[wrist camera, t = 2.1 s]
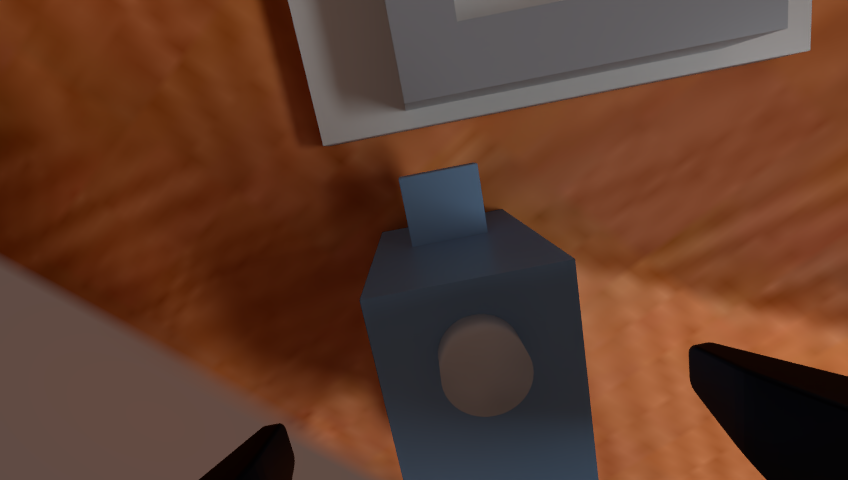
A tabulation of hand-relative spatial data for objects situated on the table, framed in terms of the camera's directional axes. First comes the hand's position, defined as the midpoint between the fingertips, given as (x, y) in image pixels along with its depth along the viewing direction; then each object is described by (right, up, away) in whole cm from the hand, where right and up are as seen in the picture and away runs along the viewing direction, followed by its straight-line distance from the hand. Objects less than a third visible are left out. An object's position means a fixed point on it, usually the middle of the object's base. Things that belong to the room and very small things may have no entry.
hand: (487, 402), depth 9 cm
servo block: (0, +1, +5) cm, 5 cm away
